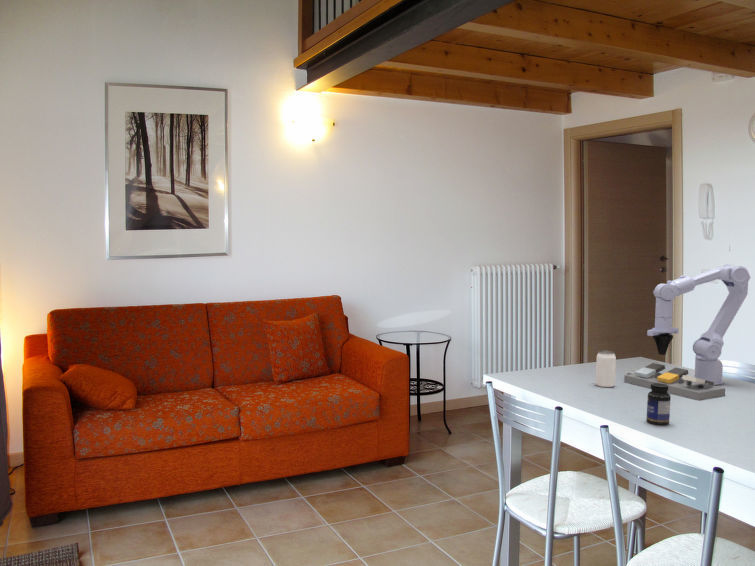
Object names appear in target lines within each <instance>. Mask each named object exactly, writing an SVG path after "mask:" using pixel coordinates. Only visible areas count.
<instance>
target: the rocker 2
mask: <svg viewBox="0 0 755 566" xmlns="http://www.w3.org/2000/svg"><path fill="white" fill-rule="evenodd" d="M661 374H662V375H660V376H658V377H657V380H658V381H661V382H665V383H672V382H674V381H676V380H678V379H679V378H682V377H683V375H685V376H688V375H689V370H688V369H684V368H680V367H673V368H672V369H670V370H667V371H665V372H664V373H661Z"/></svg>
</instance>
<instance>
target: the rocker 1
mask: <svg viewBox="0 0 755 566" xmlns="http://www.w3.org/2000/svg"><path fill="white" fill-rule="evenodd" d="M665 369H666V365H665V364H661V363H660V364H659V363H656V362H652V363H650V364H648V365H645V366H644V367H642V368H639V369H637V370H635V371H634V374H635V375H636V376H640V377H644V378H648V377H650V376H652V375H654V374H655V373H661V372H662V371H665Z"/></svg>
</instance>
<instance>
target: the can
mask: <svg viewBox="0 0 755 566" xmlns="http://www.w3.org/2000/svg"><path fill="white" fill-rule="evenodd" d="M616 364H617V357H616V354H615V352H614V351H610V350H598V351H597V354H596V363H595V366H596V367H595V385H596V386H597V387H600V388H607V389H608V388H614V387H615V386H616V366H617V365H616Z"/></svg>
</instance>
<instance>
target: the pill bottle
mask: <svg viewBox="0 0 755 566" xmlns="http://www.w3.org/2000/svg"><path fill="white" fill-rule="evenodd" d="M650 389H651V390H650V391H649V392H648V393H647V400H646V401H647V402H646V422H648V423H649V424H652V425H657V426H666V425H668V424H669V423H670V418H671V417H670V415H671V414H670V413H671V393H667V391H668V385H666V384H662V383H652V384H651V388H650Z"/></svg>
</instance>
